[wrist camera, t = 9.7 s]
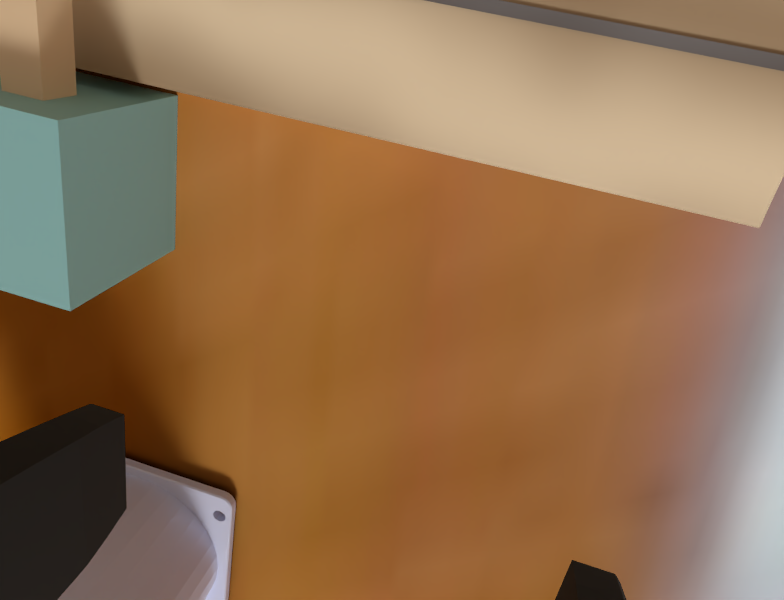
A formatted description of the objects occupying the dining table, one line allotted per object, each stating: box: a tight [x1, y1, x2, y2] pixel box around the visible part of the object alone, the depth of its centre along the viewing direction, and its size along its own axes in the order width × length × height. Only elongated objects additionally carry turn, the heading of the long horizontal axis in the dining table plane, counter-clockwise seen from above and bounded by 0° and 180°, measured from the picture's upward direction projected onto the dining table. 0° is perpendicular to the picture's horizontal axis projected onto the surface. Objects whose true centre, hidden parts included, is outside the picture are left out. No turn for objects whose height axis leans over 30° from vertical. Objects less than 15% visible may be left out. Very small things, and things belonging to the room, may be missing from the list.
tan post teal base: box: [0, 0, 178, 311], centre depth 16 cm, size 12×4×5 cm, turn 170°
